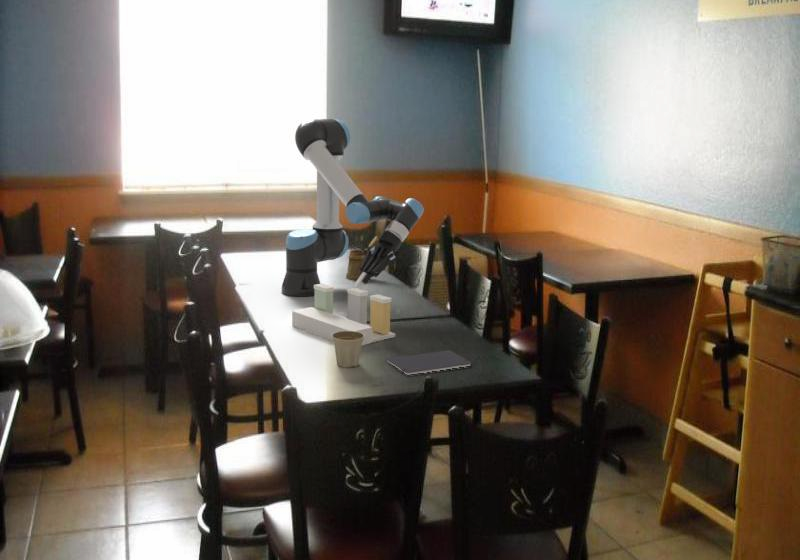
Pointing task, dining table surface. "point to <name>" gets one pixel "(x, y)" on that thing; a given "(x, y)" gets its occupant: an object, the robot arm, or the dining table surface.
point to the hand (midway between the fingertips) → (355, 289)
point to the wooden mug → (357, 261)
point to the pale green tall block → (324, 297)
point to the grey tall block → (357, 305)
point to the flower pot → (347, 347)
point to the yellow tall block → (380, 313)
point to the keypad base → (333, 325)
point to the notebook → (428, 362)
